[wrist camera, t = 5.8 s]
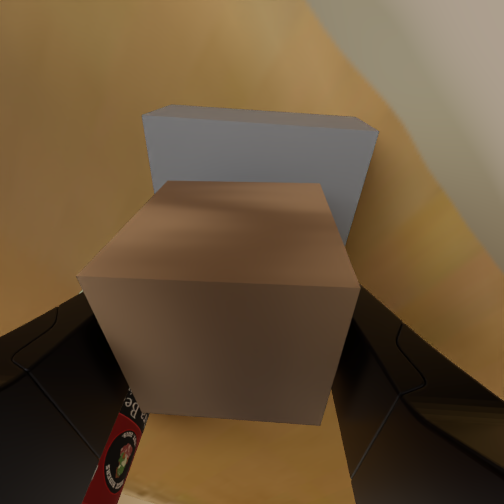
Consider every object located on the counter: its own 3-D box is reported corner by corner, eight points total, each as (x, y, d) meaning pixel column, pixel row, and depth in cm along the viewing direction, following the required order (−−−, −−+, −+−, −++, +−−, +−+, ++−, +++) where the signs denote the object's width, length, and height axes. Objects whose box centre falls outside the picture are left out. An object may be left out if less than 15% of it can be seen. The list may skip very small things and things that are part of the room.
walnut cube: (188, 292, 12) (141, 412, 8) (167, 180, 9) (75, 276, 5) (304, 297, 11) (320, 425, 7) (319, 183, 9) (360, 288, 5)
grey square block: (173, 103, 12) (141, 115, 9) (353, 115, 12) (379, 131, 9) (188, 251, 17) (170, 289, 14) (318, 262, 16) (328, 303, 13)
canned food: (174, 389, 25) (117, 569, 16) (96, 390, 26) (3, 558, 17) (144, 336, 21) (46, 538, 12) (54, 339, 22) (-99, 527, 13)
